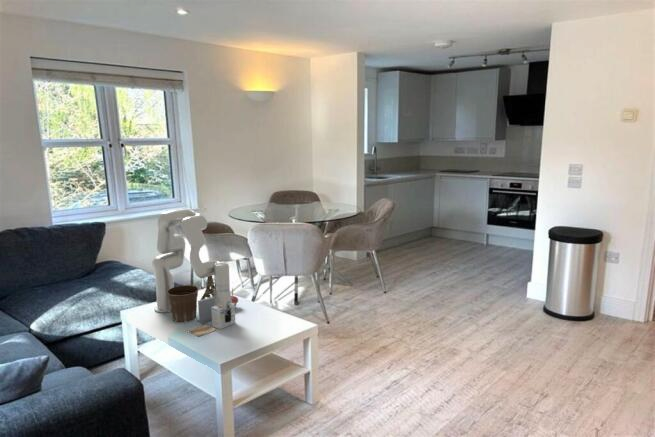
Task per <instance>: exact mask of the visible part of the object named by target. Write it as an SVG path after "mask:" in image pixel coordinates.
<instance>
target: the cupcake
mask: <svg viewBox="0 0 655 437" xmlns="http://www.w3.org/2000/svg"><path fill="white" fill-rule="evenodd" d="M231 301H232V303H234V304H235V308H236V306H237V304H238V303H239V298H238V297H237V296H235V295H234V288H231Z"/></svg>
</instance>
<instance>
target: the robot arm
mask: <svg viewBox="0 0 655 437" xmlns="http://www.w3.org/2000/svg"><path fill="white" fill-rule="evenodd" d="M157 225H158V226H157V227H158V232H157V240H156V241H157V242H156V250H157V252H158V253H159V254H160V255H157V256H156V257H154V258H153V260H152V263H151V264H152V268H153V272H154V280H155V291H156V301H155V302H156V306H155V307H154V312H156V313H172V311H171V305H170V300H169V297H168V294H167V291H168V290H169V289H171V288H173V287H175V285H174V283H175V282H174V276H173V275H172V273H171V272H170V271H171V270H176V269H179V268H180V267H182V265H184V260H185V253H186V241H185V238H186V240H187V241H188V244H189V246H190V252H189V264H190V266H191V268H192V269H193V270H192V271H193V272H194V274H195V275H196V276H197V277H198V278H200V279H205V278H208V277H209V276H212V277H214V278H213V282H214V286H215V289H214V299H213V304H214V306H218V307H221V308H223V311H225V313H226V315H225V322H226V323H227V322H230V321H231V314H232V311H233V310H234V309H233V307H232V301H231V296H232V292H231V287H230V285H231V284H230V281H231V280H230V266H229V264H228V263H227V262H222V261H220V260H217V259H213V260H208V261H205V262H202V260H201V257H200V250H201V249H202V248H203V247H204V246H206V244H207V239H206V236H205V235H204V233H203V231H204V230H206V229H207V227H208V220H207V218H206V217H205V216H204V215H202V214H201V213H199V212H197V211H194V210H193V209H190V208H181V209H174V210H167V211H164V212H161V213H159V215H158V218H157ZM178 226H180V227H181V230H182V233H183V234H184V236H183V235H181V234H179V233H175V232H176V231H175V227H178ZM184 237H185V238H184ZM227 307H229V308H228V309H227ZM227 310H229V311H228V312H227Z"/></svg>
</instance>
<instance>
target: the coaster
mask: <svg viewBox="0 0 655 437" xmlns="http://www.w3.org/2000/svg"><path fill="white" fill-rule="evenodd" d="M216 329H217V328H215V327H212V326H209V325H207V324H206V323H205V324H201V325H198V326H195V327H192V328H190V329H187V332H188V331H189V332H188V333H190V332H191V333H190V334H192V333H193V334H192V335H194V334H195V336H196V335H197V336H196V337H198V338H199V337H202V336H204V335H206V334H207V335H208V334H210V333H213V332H215V331H216Z"/></svg>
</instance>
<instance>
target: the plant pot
mask: <svg viewBox="0 0 655 437" xmlns="http://www.w3.org/2000/svg"><path fill="white" fill-rule="evenodd" d="M199 289H200V288H199V287H198V286H197V285H188V284H187V285H178V286H174V287H173V288H171V289H169V290H168V291H167V294H168V297H169V300H170V305H171V318H172V321H173V322H175V323H178V324H179V323H186V322H187V323H188V322H192V321H194V320H195V319H196V318H197V313H198V312H197V310H198V309H197V308H198V307H197V306H198V296H199Z"/></svg>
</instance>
